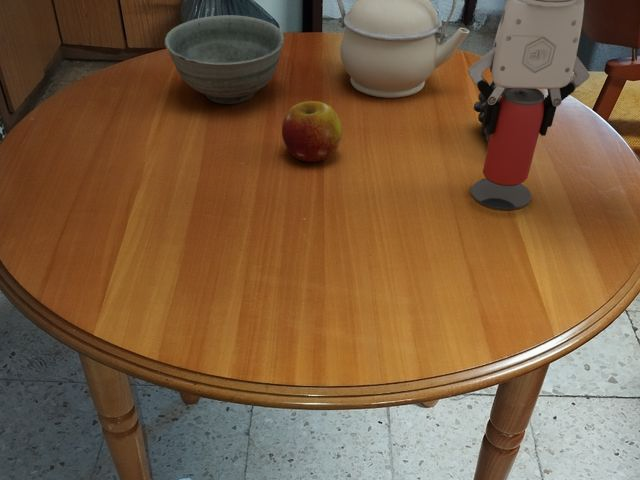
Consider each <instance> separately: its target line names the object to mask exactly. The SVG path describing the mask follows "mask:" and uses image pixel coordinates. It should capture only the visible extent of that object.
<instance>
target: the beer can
mask: <svg viewBox="0 0 640 480" xmlns="http://www.w3.org/2000/svg"><path fill="white" fill-rule="evenodd" d="M544 98H545V94H544V93H543V92H542V91H541V89H529V88H506V89H505V90H504V91H503V94H502V96H500V99H499V101H498V104H499V111H498V116H497V121H496V125H495V130H494V133H492V134H490V139H489V142H488V144H487V150H486V153H485V159H484V164H483V168H482V174H483V177H484V179H488V180H489V181H490V182H492V183H494V184H497V185H500V186H516V185H519V184H524V183H525V181H526V180H527V179H528V177H529V174H530V171H531V166H532V163H533V158H534V154H535V150H536V147H537V143H538V139H539V135H540V133H539V132H540V128H541V124H542V120H543V116H544V101H543V100H544Z"/></svg>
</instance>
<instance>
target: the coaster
mask: <svg viewBox="0 0 640 480" xmlns="http://www.w3.org/2000/svg"><path fill="white" fill-rule="evenodd" d="M470 195H471V198H472V199H473V200H474V201H475V202H476V203H478V204H479V205H481V206H483V207H485V208H488V209H491V210H496V211H516V210H520V209H523V208H525V207H527V206H528V205H529V204H530V202H531V200H532V192H531V191H530V189H529V188H528V187H527V186H526V185H524V183H521V184H519V185H516V186H500V185H497V184H494V183H492V182H490V181H489V180H488V179H486V178H483V179H480V180H477V181H476V182H474V183H473V184H472V186H471V188H470Z"/></svg>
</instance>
